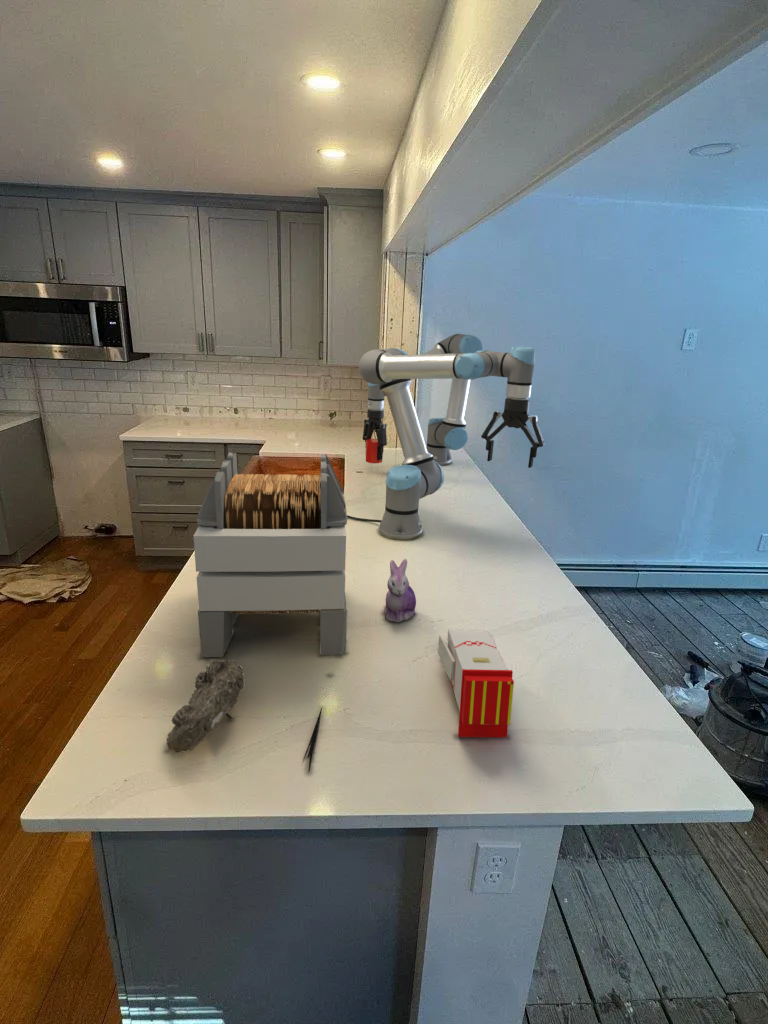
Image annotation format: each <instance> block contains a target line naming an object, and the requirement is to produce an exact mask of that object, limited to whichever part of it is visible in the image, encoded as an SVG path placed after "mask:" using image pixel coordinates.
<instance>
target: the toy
mask: <svg viewBox="0 0 768 1024" xmlns="http://www.w3.org/2000/svg"><path fill="white" fill-rule="evenodd" d="M446 640H447V643H446V641H445V639H444V636H443V635H442V634H439V637H438V646H437V656H438V657H439V659H440V661H441V663H442V666H443V668H444V670H445V672H446V674H447V677H448V679H449V681H450V684H451V687H452V690H453V693H454V697H455V701H456V705H457V708H458V711H459V714H458V715H459V716H458V730H457V731H458V732H457V737H458V738H508V731H509V726H510V725H511V717H512V707H513V697H514V696H513V695H514V684H515V680H514V679H513V673H514V671H513V670H512V669H508V667H507V665H506V662H505V661H504V659H503V658H502V655H501V653H500V651H499V649H498V647H497V643H496V639H495V637H494V635H493V634H491V632H490V631H489V629H467V628H466V629H465V628H463V629H461V628H460V629H459V628H448V630H447V639H446Z"/></svg>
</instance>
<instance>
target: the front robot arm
mask: <svg viewBox="0 0 768 1024" xmlns="http://www.w3.org/2000/svg"><path fill="white" fill-rule="evenodd" d="M423 354H424V353H423ZM535 365H536V350H535V348H534V347H529V346H528V347H527V346H512V347H511V348H510V352H500V351H491V350H487V349H486V350H483V351H477V352H476V353H460V354H458V353H457V354H424V355H422V354H408V353H407V352H406V351H404V350H403V349H401V348H395V347H390V348H381V349H379V348H378V349H370V350H368V351H366V352H365V353H364V354H363V355H362V356H361V358H360V360H359V363H358V371H359V374H360V376H361V379H363V380H364V381H365V382H367V384H368V383H371V384H379V387H380V391H381V392H382V393H384V394H386V396H385V397H386V399H387V402H388V407H389V409H390V413H391V416H392V419H393V420H392V421H393V423H394V427H395V430H396V433H397V437H398V440H399V444H400V446H401V447H400V448H401V451H402V454H403V457H404V460H403V462H402V464H401V465H400V464H398V465H393V466H392V467H391V468H389V469H388V471H387V473H386V479H385V504H384V505H385V507H384V508H385V509H384V513H383V515H382V519H373V518H371V519H370V518H362V517H357V516H356V517H355V516H351V515H348V514H347V519H350V520H353V521H354V520H355V521H362V522H370V523H379V525H378V533H379V534H380V535H381V536H382V537H385V538H387V539H389V540H395V541H410V540H415V539H418V538H420V537H421V536H422V535H423V525H422V520H421V518H420V515H419V507H420V506H419V505H420V500H421V499H423V498H426V497H427V496H430V495H433V494H434V493H436V492H437V491H439V490H440V489H441V487H442V486H443V484H444V481H445V472H444V469H443V467H442V465H439V464H438V463H437V462H435V461H434V458H433V455H432V454H430V453H428V452H427V449H426V447H427V444H426V441H425V442H424V440H425V438H424V435H423V431H422V428H421V424H420V422H419V418H418V414H417V411H416V407H415V404H414V400H413V397H412V393H411V389H410V390H409V386H410V387H411V384H412V383H413V382H412V380H431V379H432V380H442V379H444V380H449V379H451V380H452V379H466V380H470V381H471V380H473V381H474V380H476V379H481V378H486V377H497V378H498V377H500V378H507V379H506V389H505V397H506V398H504V406H503V407H504V408H503V412H501V411H499V410H495V411H493V415H492V418H491V420H490V421H489V423H488V424H487V426H486V427H485V429H484V431H483V432H482V434H481V435H480V437H481V439H484V440H485V441H486V442H485V451H487V459H486V461H487V462H491V461H492V460H493V455H494V454H493V453H494V443H495V440H493V439H494V438H495V437H496V436H497V435H498V434H499V433H500V432H501V431H502V430H504V429H505V427H508V428H513V429H514V428H515V429H520V430H521V431H522V432H523V433H524V435H525V436H526V438H527V440H528V441H529V443H530V444H531V445H532V446H531V447H530V450H529V458H528V465H527V468H528V469H529V468H530V469H531V468H533V466H534V465H533V464H534V458H537V457H538V453H539V448H543V447H544V446H545V444H546V443H545V439H544V436H543V433H542V431H541V428H540V425H539V416H538V415H529V408H530V398H531V393H532V385H533V375H534V370H535ZM500 418H502V419H503V422H502V423H501V424H500V425H499V426H498V427H496V428H495V430H493V432H492V433H490V432H491V431H492V429H493V428H494V426H495V425H496V423H497V421H498V419H500ZM528 421H529V422H530V423H531V424H532V428H533V430H534V434H535V436H536V438H535V436H534V434H533V433H532V431H531V429H530V428H529V426H528V424H527V422H528Z"/></svg>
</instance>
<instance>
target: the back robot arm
mask: <svg viewBox="0 0 768 1024" xmlns="http://www.w3.org/2000/svg"><path fill="white" fill-rule="evenodd" d="M477 351H484V345H483V342H482V341H481V339H480V338H479V337H478V336H476V335H472V334H464V333H463V334H462V333H454V334H451V335H450V336H447V337H445V338H444V339H442V340H440V341H439V342H437V343H435V344H434V347H432V348H431V349H429V350H427V351H426V352H423V353H422V354H421V355H424V354H457V353H458V354H460V353H476V352H477ZM470 383H471V380H466V379H451V387H450V391H449V398H448V403H447V409H446V416H445V417H431V418H429V419H428V422H427V436H426V441H425V439H424V442H425V443H426V449H427V452H428V453H430V454H432V455H433V458H434V461H435V462H437V463H438V464H439V465H440V466H448V465H451V464H452V460H453V459H452V455H451V450H452V451H458V450H460V449H462V448H464V447H465V445H466V444H467V442H468V440H469V434H468V431H467V430H466V427H467V422H466V420H465V414H466V408H467V401H468V397H469V392H470V391H469V390H470V386H471V384H470ZM409 390H410V391H411V385H410V386H409ZM385 397H387V396H386V394H384V393H382V392H381V391H380V387H379V384H371V383H368V382H367V411H366V412H367V413H366V417H367V418H368V419H364V420H363V423H364V424H363V432H362V440H363V441H364V442H365V443H366V440H367V439H372V437H373V434H374V433H375V435H376V439H377V440H378V444H379V445H378V446H377V460H382V461H383V458H384V457H383V456H384V455H383V453H384V447H385V446H388V440H387V426H388V424H387V423H383V419H384V414H385V413H384V412H385V411H384V409H385ZM365 448H366V445H365Z"/></svg>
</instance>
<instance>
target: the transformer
mask: <svg viewBox="0 0 768 1024" xmlns="http://www.w3.org/2000/svg"><path fill="white" fill-rule="evenodd" d="M347 515H348V511H347V505H346V498H345V491H344V489H343V486H342V484H341V483H340V481H339V478H338V477H337V475H336V472H335V470H334V468H333V466H332V463H331V461H330V458H329V457H328V455H327V453H320V474H313V476H312V475H311V474H303V475H302V474H300V475H299V474H279V473H278V474H275V475H274V474H273V475H272V474H271V475H270V474H269V473H268V474H267V473H266V474H263V473H256V474H255V473H251V474H249V473H246V474H244V473H238V462H237V452H234V453H233V452H227V455H226V457H225V460H223V461H222V464H221V466H220V468H219V470H218V471H216V473H215V475H214V477H213V479H212V482H211V484H210V487H209V489H208V491H207V493H206V494H205V497H204V500H203V503H202V505H201V507H200V509H199V511H198V513H197V516H196V524H197V528H196V530H195V532H194V534H193V548H194V549H193V551H194V560H195V561H194V563H195V572H196V573H197V572H198V574H197V575H196V590H197V602H198V609H197V622H198V635H199V636H198V637H199V641H200V657H201V658H204V659H205V658H206V659H208V658H210V657H211V658H223V657H224V655H225V654H226V650H227V648H228V646H229V644H230V641H231V639H232V637H233V634H234V625H235V624H236V622H237V619H238V615H240V614H241V615H242V614H245V615H248V614H249V615H252V614H253V615H254V614H255V615H256V614H288V613H289V614H301V613H302V614H305V613H306V614H309V613H311V614H312V613H313V614H314V613H317V614H318V613H319V634H320V635H319V647H320V648H319V651H320V652H319V654H320V655H321V656H324V655H327V656H330V655H336V656H342V655H344V654H346V653H347V620H348V619H347V618H348V617H347V614H348V610H347V597H346V556H347V555H346V551H347V531H346V525H347V524H348V518H347Z"/></svg>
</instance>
